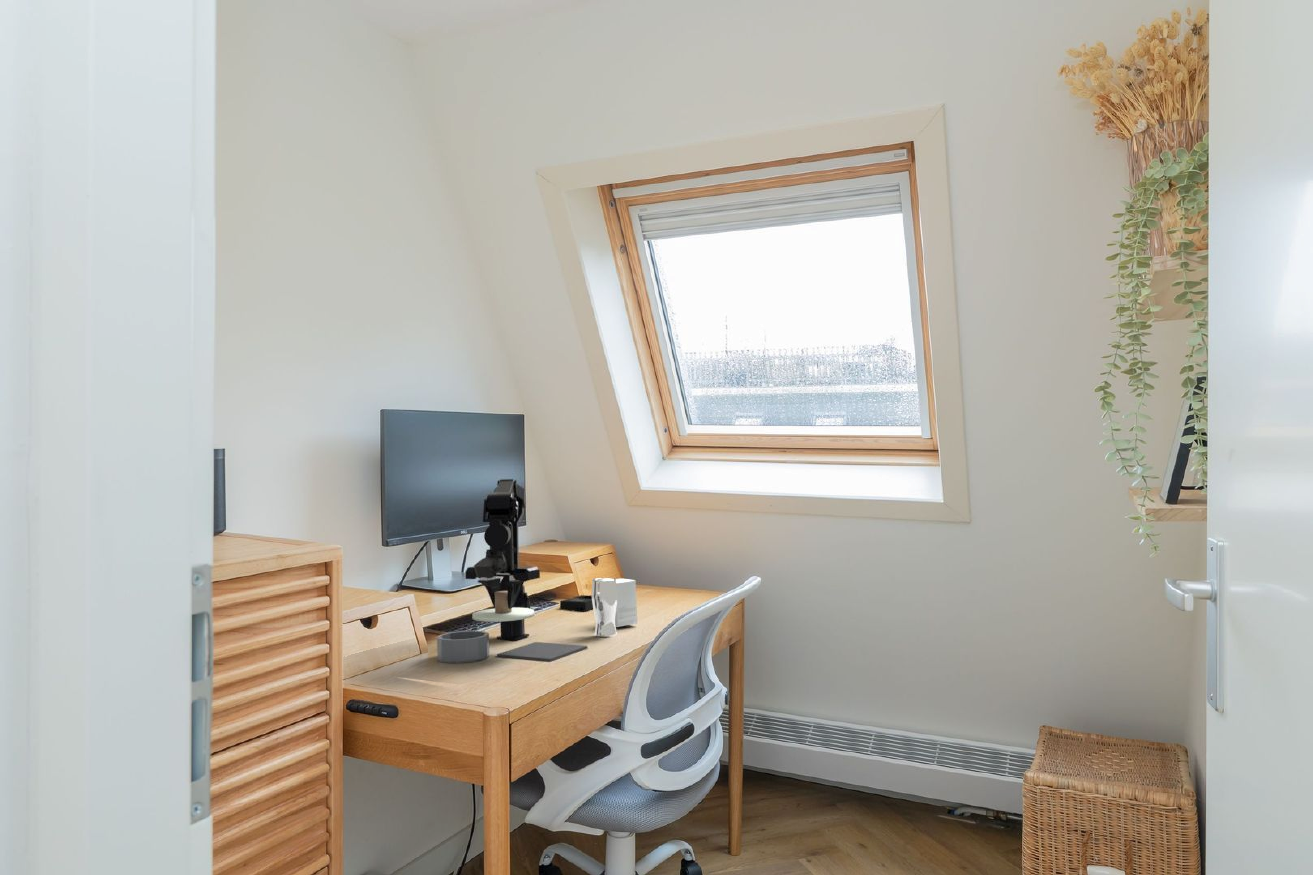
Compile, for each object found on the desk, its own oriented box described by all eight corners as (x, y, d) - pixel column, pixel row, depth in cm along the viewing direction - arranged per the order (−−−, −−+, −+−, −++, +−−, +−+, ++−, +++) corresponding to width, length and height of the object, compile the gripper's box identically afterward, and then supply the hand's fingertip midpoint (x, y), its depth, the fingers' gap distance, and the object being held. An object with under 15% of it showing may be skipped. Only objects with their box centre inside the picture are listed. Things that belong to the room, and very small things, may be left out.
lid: (496, 610, 233) (496, 586, 234) (545, 612, 227) (545, 588, 227) (459, 620, 220) (459, 595, 220) (510, 622, 213) (510, 597, 213)
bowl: (460, 651, 229) (460, 629, 230) (498, 654, 224) (498, 632, 224) (427, 661, 219) (427, 638, 219) (466, 664, 213) (466, 641, 213)
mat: (535, 644, 236) (535, 641, 236) (587, 648, 228) (587, 645, 228) (496, 656, 222) (496, 654, 222) (551, 661, 214) (550, 658, 214)
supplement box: (623, 621, 267) (621, 577, 268) (637, 623, 261) (636, 579, 262) (602, 624, 263) (600, 580, 263) (616, 627, 257) (615, 582, 257)
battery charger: (585, 614, 283) (585, 602, 283) (560, 613, 287) (559, 600, 288) (606, 608, 294) (606, 596, 295) (581, 607, 299) (581, 595, 299)
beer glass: (595, 638, 241) (594, 581, 242) (590, 633, 248) (588, 578, 248) (621, 636, 243) (619, 579, 244) (615, 631, 250) (613, 577, 250)
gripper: (450, 547, 221) (451, 611, 220) (513, 548, 213) (515, 615, 212) (478, 543, 231) (480, 604, 230) (540, 543, 223) (542, 607, 222)
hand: (503, 608), depth 223 cm, fingers closed on lid, 4 cm apart
